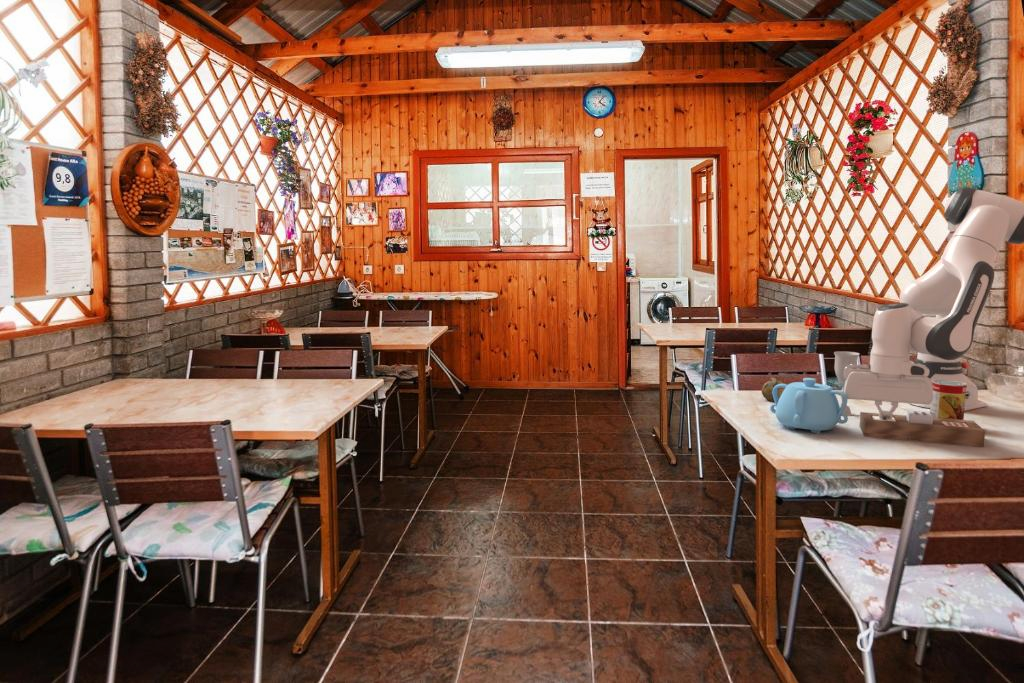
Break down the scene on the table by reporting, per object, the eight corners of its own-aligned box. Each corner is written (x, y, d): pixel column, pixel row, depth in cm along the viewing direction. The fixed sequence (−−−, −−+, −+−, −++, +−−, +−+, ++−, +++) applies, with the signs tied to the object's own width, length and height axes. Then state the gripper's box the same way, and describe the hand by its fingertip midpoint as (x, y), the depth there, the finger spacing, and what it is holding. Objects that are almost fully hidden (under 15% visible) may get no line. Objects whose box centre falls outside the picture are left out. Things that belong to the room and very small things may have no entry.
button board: (864, 436, 172) (865, 421, 172) (859, 426, 182) (860, 411, 182) (983, 447, 163) (985, 431, 162) (971, 435, 173) (973, 420, 172)
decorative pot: (825, 421, 189) (827, 373, 187) (851, 435, 173) (854, 384, 171) (766, 420, 189) (768, 373, 188) (787, 435, 173) (790, 383, 172)
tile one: (874, 430, 174) (874, 419, 173) (871, 425, 178) (872, 415, 178) (895, 432, 172) (896, 421, 172) (892, 427, 177) (893, 416, 176)
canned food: (969, 429, 179) (973, 385, 178) (940, 429, 180) (943, 385, 178) (951, 422, 187) (954, 379, 186) (922, 421, 187) (926, 379, 186)
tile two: (909, 425, 171) (910, 414, 170) (906, 420, 175) (907, 409, 175) (932, 427, 169) (933, 415, 168) (928, 422, 173) (929, 411, 173)
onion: (791, 403, 211) (792, 378, 210) (766, 403, 211) (767, 378, 210) (782, 398, 218) (783, 374, 217) (757, 398, 219) (758, 374, 218)
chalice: (858, 416, 193) (863, 355, 191) (833, 415, 194) (837, 354, 192) (851, 411, 200) (855, 351, 198) (827, 410, 201) (830, 351, 199)
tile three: (945, 436, 168) (946, 425, 168) (940, 431, 173) (941, 420, 172) (968, 438, 166) (969, 427, 166) (963, 433, 171) (964, 422, 170)
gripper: (845, 365, 174) (842, 417, 175) (936, 370, 166) (932, 424, 168) (843, 361, 180) (840, 412, 181) (931, 366, 172) (927, 418, 174)
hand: (885, 418), depth 175 cm, fingers closed
